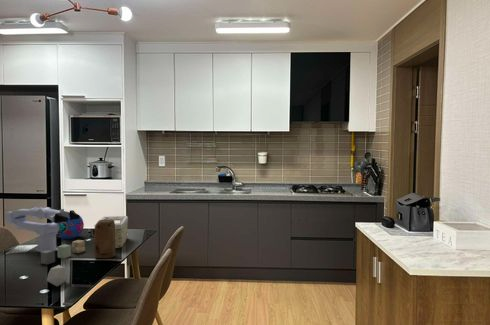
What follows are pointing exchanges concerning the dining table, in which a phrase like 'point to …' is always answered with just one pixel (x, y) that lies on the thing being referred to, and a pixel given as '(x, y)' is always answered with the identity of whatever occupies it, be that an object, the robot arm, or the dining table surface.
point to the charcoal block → (48, 256)
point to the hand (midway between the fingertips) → (73, 218)
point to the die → (57, 275)
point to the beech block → (78, 246)
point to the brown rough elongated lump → (104, 239)
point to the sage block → (63, 251)
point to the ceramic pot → (70, 228)
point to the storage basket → (119, 229)
